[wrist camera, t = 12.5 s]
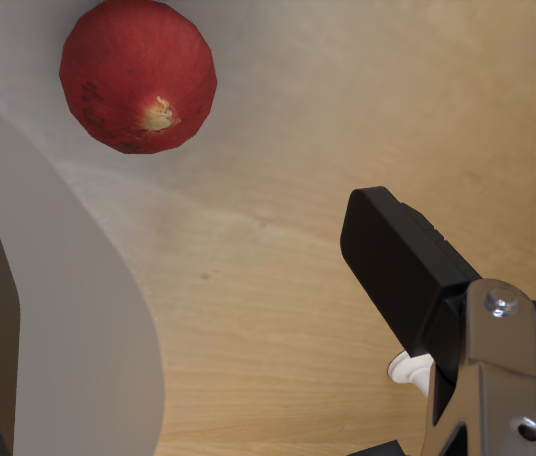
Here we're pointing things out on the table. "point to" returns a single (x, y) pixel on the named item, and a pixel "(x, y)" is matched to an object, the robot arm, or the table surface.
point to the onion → (138, 76)
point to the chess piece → (412, 370)
